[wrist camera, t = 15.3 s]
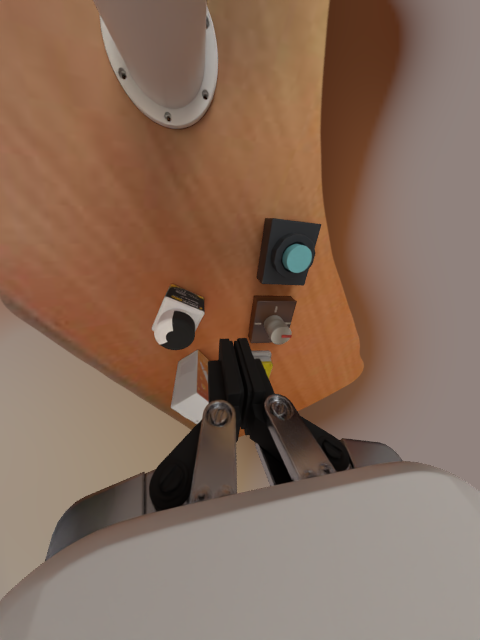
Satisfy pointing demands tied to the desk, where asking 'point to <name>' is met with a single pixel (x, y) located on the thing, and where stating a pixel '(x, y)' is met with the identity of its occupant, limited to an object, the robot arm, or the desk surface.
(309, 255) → the teal button cap
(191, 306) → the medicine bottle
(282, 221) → the button housing
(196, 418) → the small box
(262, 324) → the rotary knob switch
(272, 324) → the dial
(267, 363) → the emergency button
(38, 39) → the desk surface
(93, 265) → the desk surface
